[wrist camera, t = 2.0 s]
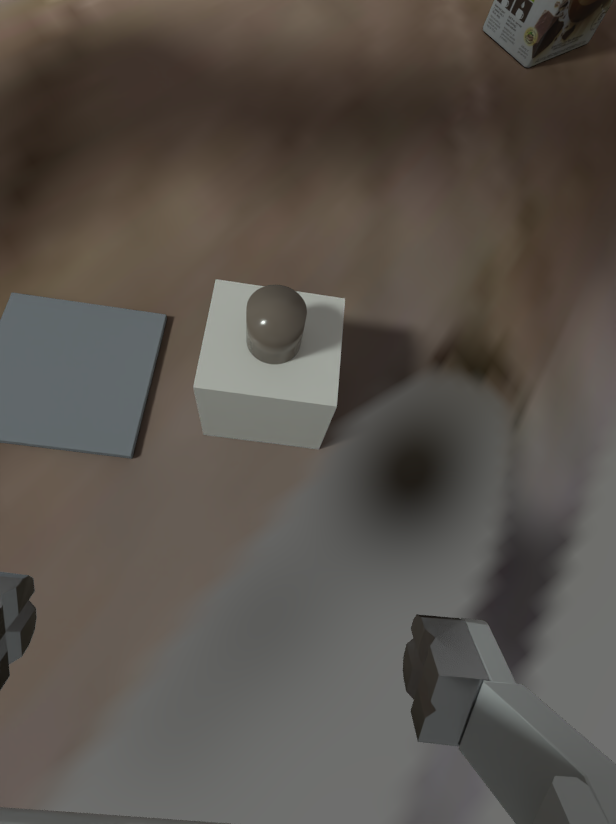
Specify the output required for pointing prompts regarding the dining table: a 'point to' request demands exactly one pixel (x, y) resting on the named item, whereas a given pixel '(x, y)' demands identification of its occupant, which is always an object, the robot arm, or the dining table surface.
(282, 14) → the dining table surface
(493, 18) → the coffee box
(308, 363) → the perfume bottle
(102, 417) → the felt mat
